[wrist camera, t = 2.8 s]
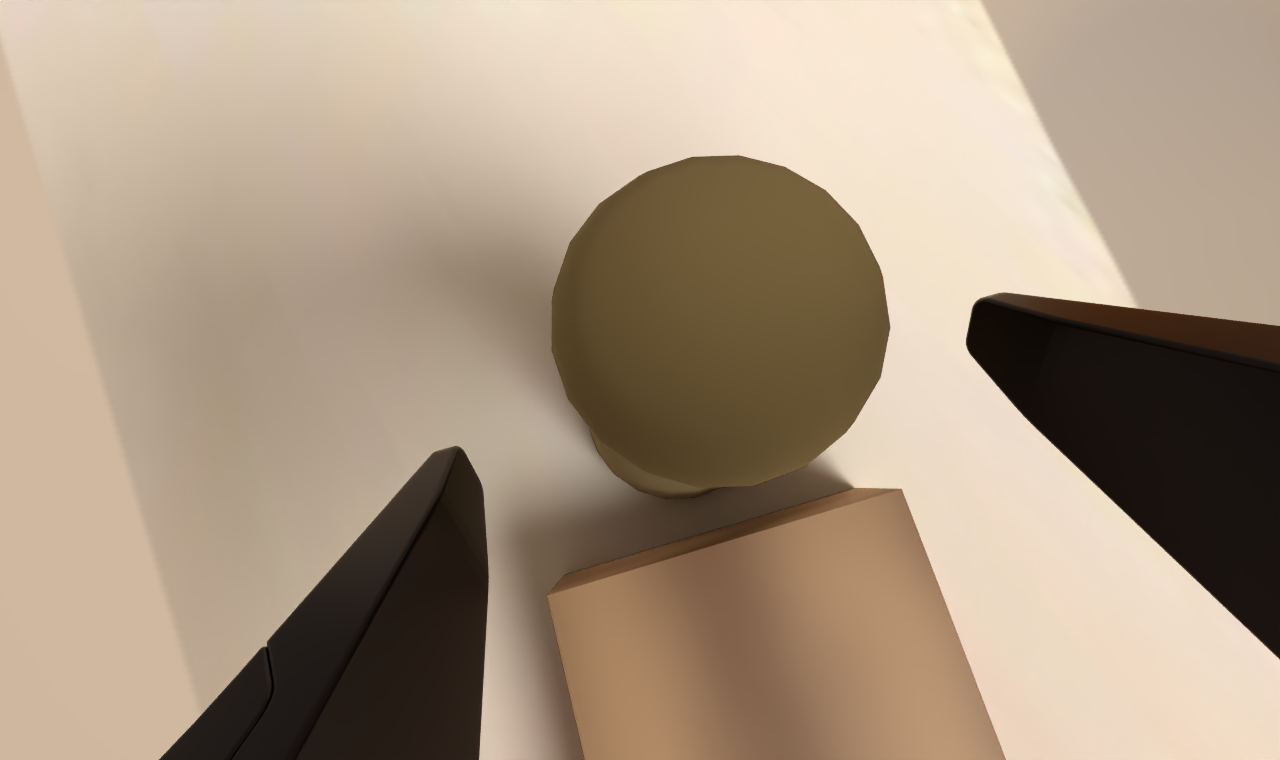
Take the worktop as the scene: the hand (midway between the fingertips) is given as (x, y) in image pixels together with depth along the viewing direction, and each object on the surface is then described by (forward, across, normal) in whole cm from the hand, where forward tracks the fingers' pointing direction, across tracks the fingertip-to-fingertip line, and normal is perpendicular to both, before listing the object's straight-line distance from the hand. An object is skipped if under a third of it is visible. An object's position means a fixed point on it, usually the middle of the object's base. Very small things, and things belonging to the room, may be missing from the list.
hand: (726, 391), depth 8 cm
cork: (+7, 0, +6) cm, 9 cm away
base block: (0, 0, +12) cm, 12 cm away
